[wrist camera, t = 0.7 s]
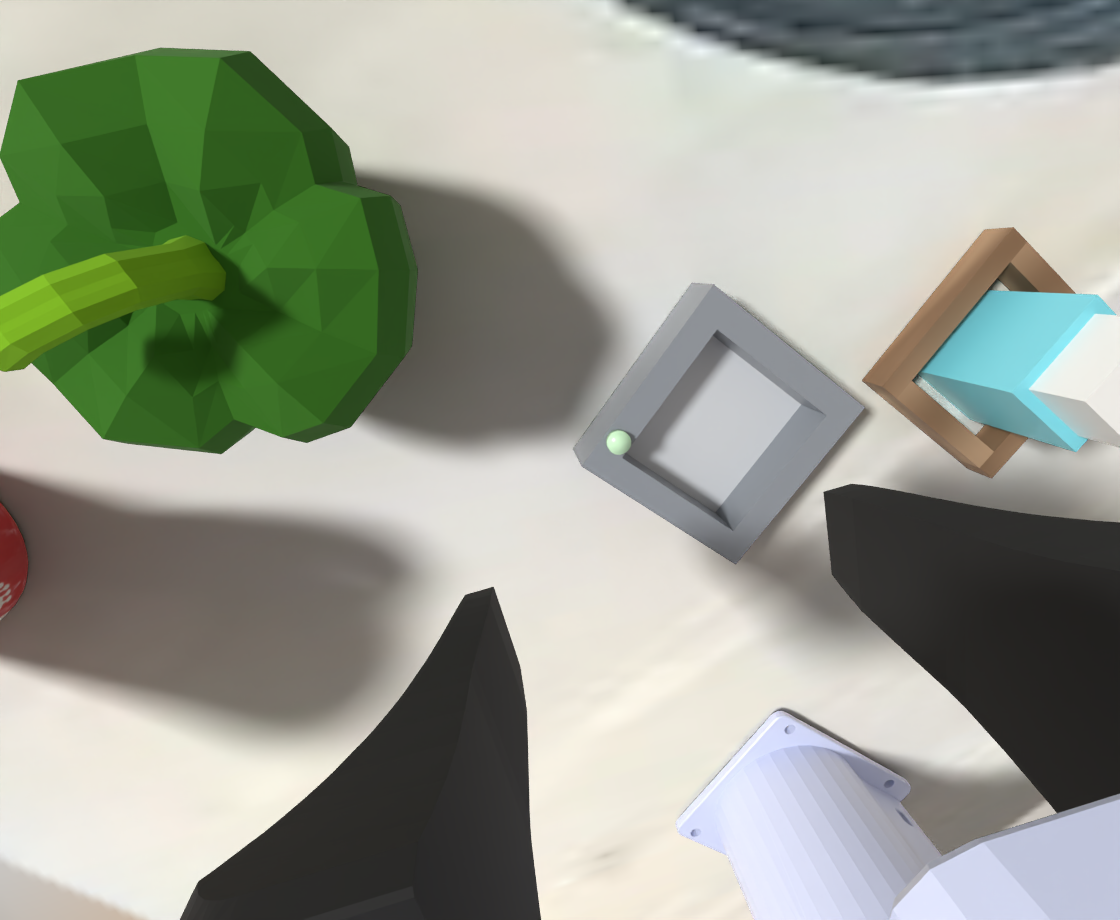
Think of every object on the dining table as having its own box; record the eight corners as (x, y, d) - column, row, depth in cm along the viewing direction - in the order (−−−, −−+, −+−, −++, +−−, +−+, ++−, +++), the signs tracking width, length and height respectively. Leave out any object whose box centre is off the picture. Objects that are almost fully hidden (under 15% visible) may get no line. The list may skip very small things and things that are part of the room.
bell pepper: (410, 113, 17) (324, -73, 8) (451, 381, 20) (422, 481, 11) (117, 132, 17) (-367, -48, 7) (199, 409, 19) (-73, 542, 10)
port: (832, 395, 22) (870, 409, 20) (715, 540, 23) (739, 568, 21) (691, 282, 20) (717, 284, 18) (573, 448, 21) (583, 469, 19)
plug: (1034, 344, 22) (1228, 370, 17) (969, 419, 23) (1134, 470, 17) (978, 289, 21) (1164, 297, 16) (912, 369, 22) (1067, 405, 16)
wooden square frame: (1085, 334, 22) (1117, 338, 21) (967, 468, 24) (991, 478, 23) (984, 229, 21) (1013, 227, 20) (861, 380, 22) (882, 386, 21)
